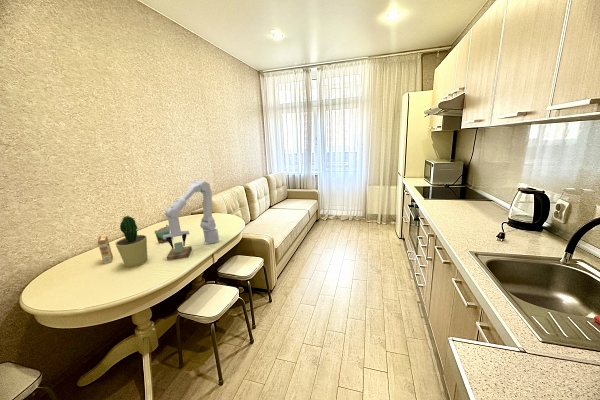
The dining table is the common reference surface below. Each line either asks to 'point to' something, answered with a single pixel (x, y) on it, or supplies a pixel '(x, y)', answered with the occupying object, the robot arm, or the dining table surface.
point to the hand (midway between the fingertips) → (178, 246)
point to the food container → (162, 232)
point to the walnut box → (180, 255)
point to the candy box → (105, 249)
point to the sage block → (178, 247)
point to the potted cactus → (132, 244)
